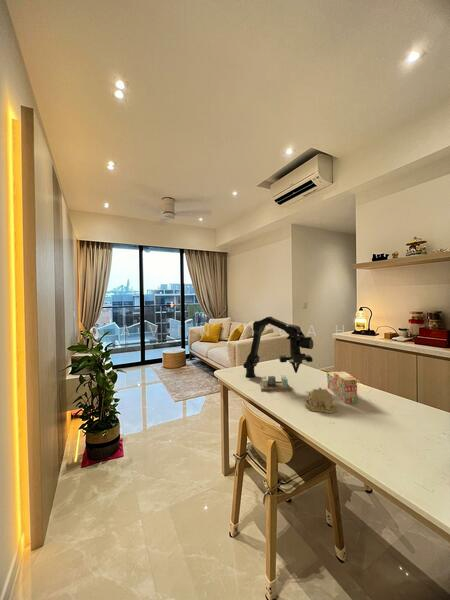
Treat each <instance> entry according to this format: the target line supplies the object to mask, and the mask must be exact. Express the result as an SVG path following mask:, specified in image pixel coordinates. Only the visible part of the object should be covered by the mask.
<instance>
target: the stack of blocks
mask: <svg viewBox="0 0 450 600" xmlns="http://www.w3.org/2000/svg"><path fill="white" fill-rule="evenodd" d="M326 378H327V380H326V381H327V389H329V390H330V391H331V392H332V394H334V395H336V396H337V397H338V398H339V399H340V400H341V401H342V402H343V403H344V404H358V384H357V383H358V379H356V377H354V376H352V374H349V373H348V372H346V371H328V372H326Z"/></svg>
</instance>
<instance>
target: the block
mask: <svg viewBox="0 0 450 600" xmlns="http://www.w3.org/2000/svg"><path fill="white" fill-rule="evenodd" d="M267 381H268V385H269V387H276V381H277V380H276V376H275V375H272V376H271V375H269V376H267Z"/></svg>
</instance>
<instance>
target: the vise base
mask: <svg viewBox="0 0 450 600" xmlns="http://www.w3.org/2000/svg"><path fill="white" fill-rule="evenodd" d="M259 386H260V391H261V392H291V391H292V390H291V387H290V385H289V384H288V387H283V385H282V380H279V381H278V380H276V387H269V385H268V378H267V376H266V375H261V381H260V382H259Z"/></svg>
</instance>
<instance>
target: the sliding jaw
mask: <svg viewBox="0 0 450 600" xmlns="http://www.w3.org/2000/svg"><path fill="white" fill-rule="evenodd" d="M280 381H282V385H283V387H288V385H289V382H288V381H289V380H288V378H287V375H284V374H283V375H281V380H280Z"/></svg>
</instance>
